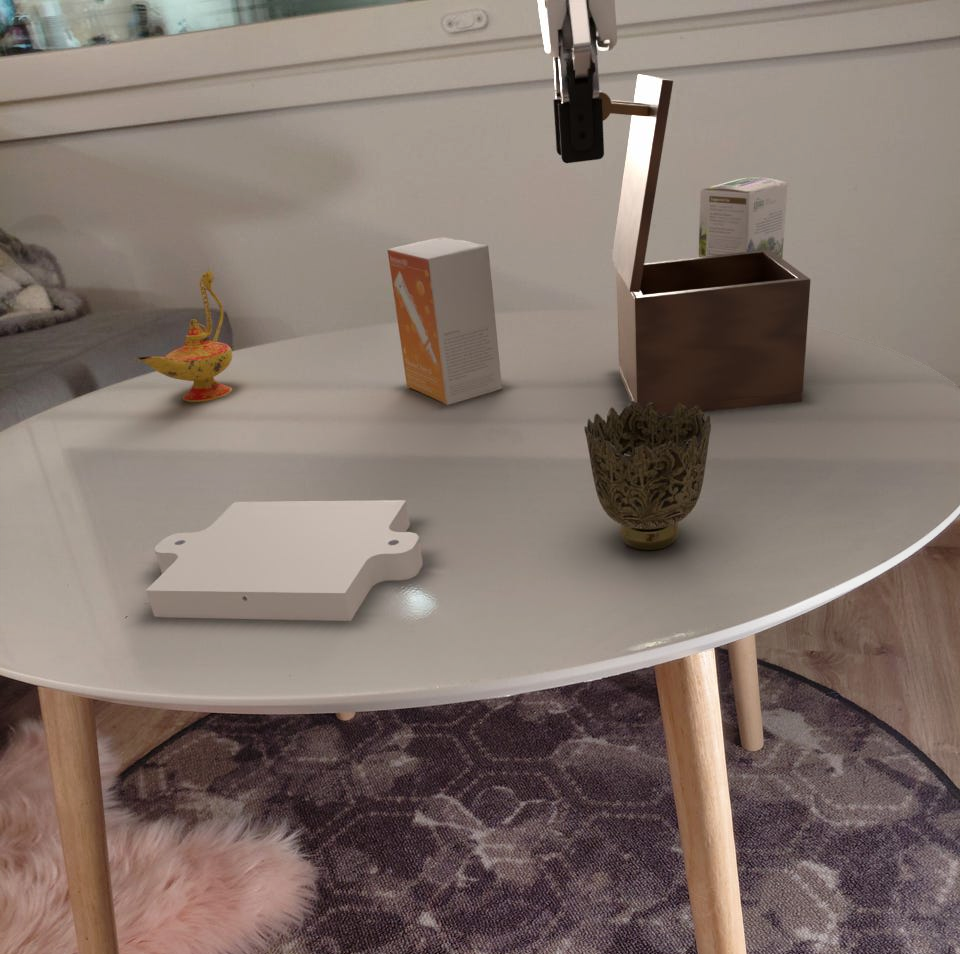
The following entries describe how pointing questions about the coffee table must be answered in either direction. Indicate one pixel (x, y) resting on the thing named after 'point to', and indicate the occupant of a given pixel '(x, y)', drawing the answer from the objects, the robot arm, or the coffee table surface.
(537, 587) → the coffee table surface
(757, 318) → the compartment
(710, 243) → the syrup box
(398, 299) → the small box
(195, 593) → the mounting plate
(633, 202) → the lid
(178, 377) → the magic lamp
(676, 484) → the cup
